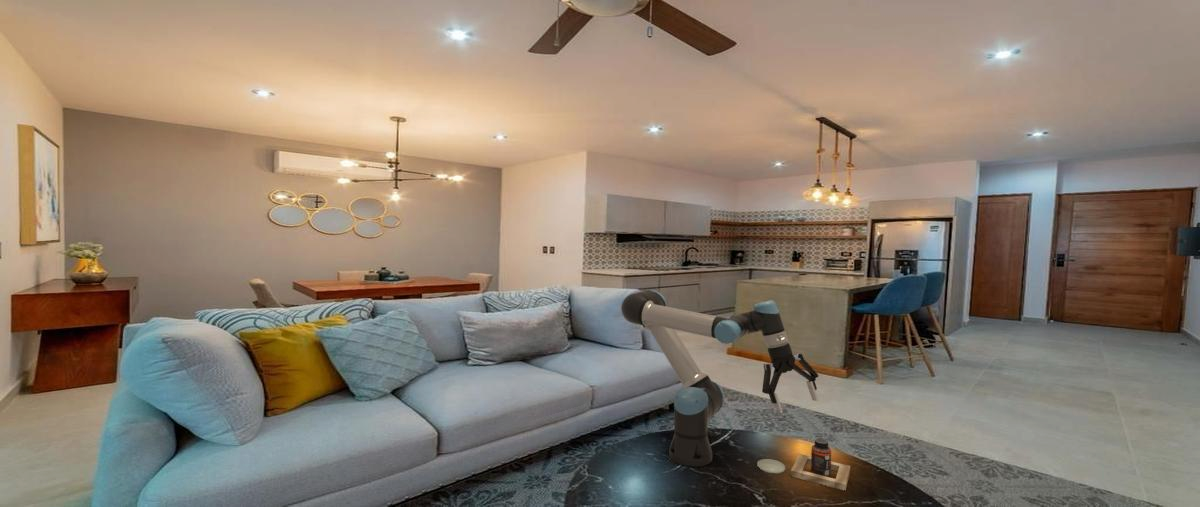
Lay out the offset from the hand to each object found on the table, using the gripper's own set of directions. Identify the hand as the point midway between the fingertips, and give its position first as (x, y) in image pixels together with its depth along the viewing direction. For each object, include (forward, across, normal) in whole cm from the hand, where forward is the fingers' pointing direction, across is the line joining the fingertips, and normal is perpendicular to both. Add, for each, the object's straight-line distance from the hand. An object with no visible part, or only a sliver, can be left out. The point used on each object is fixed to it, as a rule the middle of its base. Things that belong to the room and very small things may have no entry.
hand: (797, 406), depth 162 cm
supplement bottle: (+23, 0, -1) cm, 23 cm away
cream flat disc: (+18, -13, +6) cm, 23 cm away
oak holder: (+22, 0, -1) cm, 22 cm away
